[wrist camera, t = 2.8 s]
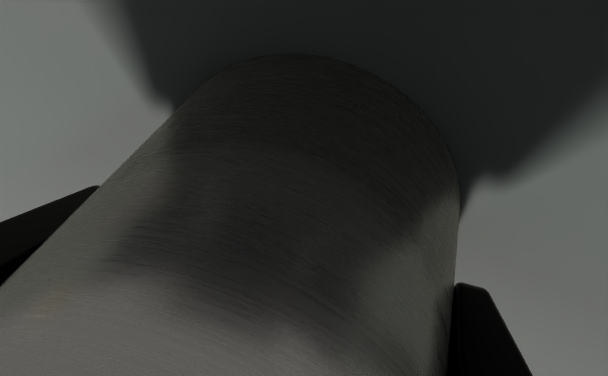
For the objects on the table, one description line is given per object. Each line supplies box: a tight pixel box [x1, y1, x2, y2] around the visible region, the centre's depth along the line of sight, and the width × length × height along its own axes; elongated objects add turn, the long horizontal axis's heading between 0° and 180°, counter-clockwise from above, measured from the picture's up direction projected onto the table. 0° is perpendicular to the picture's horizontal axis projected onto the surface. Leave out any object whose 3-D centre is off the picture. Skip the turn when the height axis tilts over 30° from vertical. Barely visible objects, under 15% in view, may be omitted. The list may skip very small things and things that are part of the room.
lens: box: [0, 54, 460, 376], centre depth 6 cm, size 5×5×7 cm
